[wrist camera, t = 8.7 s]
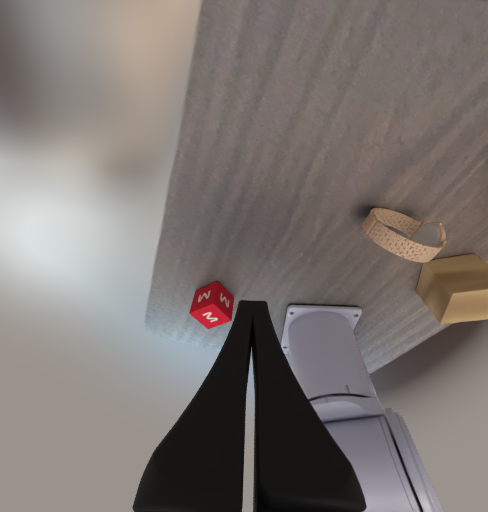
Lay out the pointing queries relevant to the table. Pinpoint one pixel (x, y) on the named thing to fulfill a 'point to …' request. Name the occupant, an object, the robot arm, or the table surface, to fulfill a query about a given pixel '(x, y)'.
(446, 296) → the birch block
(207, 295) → the red letter cube
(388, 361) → the table surface
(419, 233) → the tan wristwatch
